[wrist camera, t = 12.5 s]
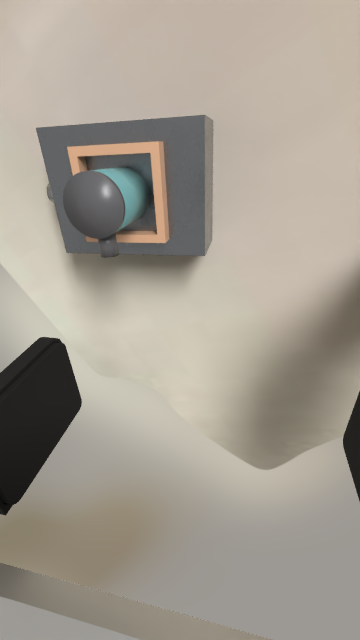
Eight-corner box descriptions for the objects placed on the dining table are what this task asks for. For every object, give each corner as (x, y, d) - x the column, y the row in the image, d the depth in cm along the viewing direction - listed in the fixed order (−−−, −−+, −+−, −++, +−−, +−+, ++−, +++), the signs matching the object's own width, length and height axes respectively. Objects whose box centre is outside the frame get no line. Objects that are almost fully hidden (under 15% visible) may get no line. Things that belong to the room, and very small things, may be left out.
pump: (146, 165, 27) (116, 169, 21) (153, 238, 30) (130, 260, 24) (97, 168, 28) (55, 172, 22) (109, 239, 31) (76, 259, 26)
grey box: (213, 120, 29) (202, 113, 23) (211, 240, 35) (202, 260, 29) (53, 131, 33) (6, 128, 27) (77, 238, 39) (43, 256, 33)
